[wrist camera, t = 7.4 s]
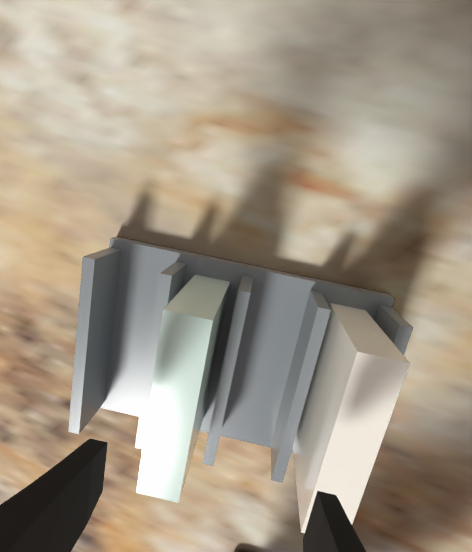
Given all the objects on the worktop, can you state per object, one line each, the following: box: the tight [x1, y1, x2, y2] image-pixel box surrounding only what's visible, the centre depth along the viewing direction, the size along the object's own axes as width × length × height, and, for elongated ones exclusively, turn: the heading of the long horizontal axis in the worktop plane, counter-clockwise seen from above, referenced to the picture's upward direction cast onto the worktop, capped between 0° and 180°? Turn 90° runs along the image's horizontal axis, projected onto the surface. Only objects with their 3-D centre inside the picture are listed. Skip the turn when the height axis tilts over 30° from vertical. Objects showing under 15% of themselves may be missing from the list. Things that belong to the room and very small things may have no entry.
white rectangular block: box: [293, 303, 410, 533], centre depth 17 cm, size 9×2×6 cm, turn 169°
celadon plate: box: [136, 274, 230, 503], centre depth 17 cm, size 9×2×6 cm, turn 169°
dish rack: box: [69, 237, 413, 483], centre depth 19 cm, size 11×16×4 cm
